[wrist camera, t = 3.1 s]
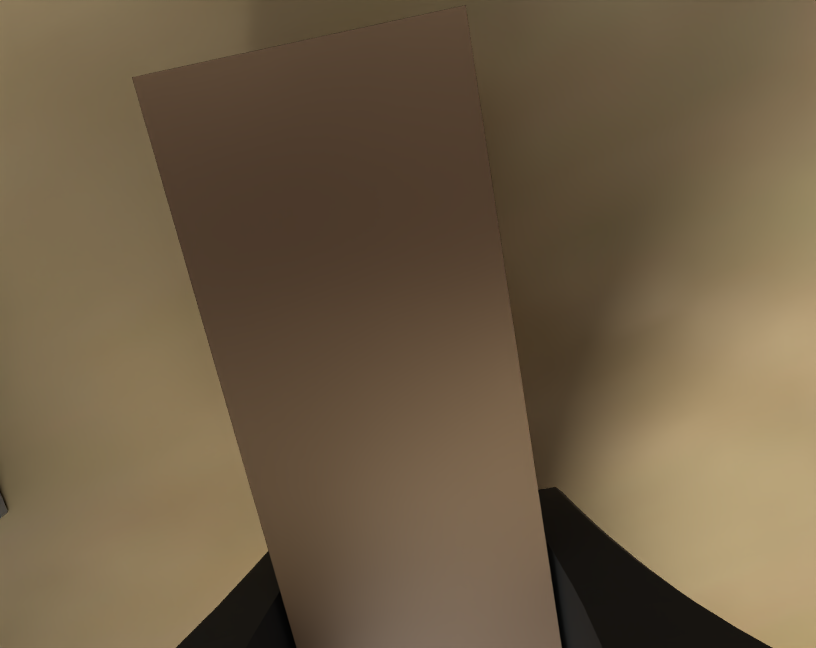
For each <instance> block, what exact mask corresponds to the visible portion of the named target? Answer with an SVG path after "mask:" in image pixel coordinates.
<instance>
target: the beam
mask: <svg viewBox="0 0 816 648" xmlns="http://www.w3.org/2000/svg"><path fill="white" fill-rule="evenodd" d="M132 79H133V82H134V86H135V89H136V93H137V96H138V100H139V103H140V107H141V110H142V114H143V117H144V120H145V124H146V127H147V131H148V134H149V138H150V141H151V145H152V148H153V152H154V155H155V159H156V162H157V166H158V169H159V172H160V176H161V179H162V183H163V186H164V190H165V193H166V197H167V200H168V204H169V207H170V211H171V214H172V218H173V221H174V225H175V228H176V231H177V235H178V238H179V242H180V245H181V249H182V252H183V256H184V259H185V263H186V266H187V270H188V273H189V277H190V280H191V283H192V287H193V290H194V294H195V297H196V301H197V304H198V308H199V311H200V315H201V318H202V322H203V325H204V329H205V332H206V335H207V339H208V342H209V346H210V349H211V353H212V356H213V360H214V363H215V367H216V370H217V374H218V377H219V381H220V384H221V387H222V391H223V394H224V398H225V401H226V405H227V408H228V412H229V415H230V419H231V422H232V426H233V429H234V433H235V436H236V440H237V443H238V446H239V450H240V453H241V457H242V460H243V464H244V467H245V471H246V474H247V478H248V481H249V485H250V488H251V492H252V495H253V498H254V502H255V505H256V509H257V512H258V516H259V519H260V523H261V526H262V530H263V533H264V537H265V540H266V544H267V547H268V550H269V554H270V557H271V561H272V564H273V568H274V571H275V575H276V578H277V582H278V585H279V589H280V592H281V596H282V599H283V603H284V606H285V609H286V613H287V616H288V620H289V623H290V627H291V630H292V634H293V637H294V641H295V644H296V648H562V646H561V640H560V633H559V626H558V620H557V613H556V606H555V600H554V593H553V586H552V580H551V573H550V566H549V560H548V553H547V546H546V539H545V533H544V526H543V519H542V513H541V506H540V499H539V493H538V486H537V479H536V473H535V466H534V459H533V453H532V446H531V439H530V433H529V426H528V419H527V413H526V406H525V399H524V392H523V386H522V379H521V372H520V366H519V359H518V352H517V346H516V339H515V332H514V326H513V319H512V312H511V306H510V299H509V292H508V286H507V279H506V272H505V266H504V259H503V252H502V245H501V239H500V232H499V225H498V219H497V212H496V205H495V199H494V192H493V185H492V179H491V172H490V165H489V159H488V152H487V145H486V139H485V132H484V125H483V119H482V112H481V105H480V99H479V92H478V85H477V78H476V72H475V65H474V58H473V52H472V45H471V38H470V32H469V25H468V18H467V12H466V5H464V6H460V7H455V8H450V9H446V10H441V11H437V12H432V13H427V14H423V15H418V16H413V17H409V18H404V19H400V20H395V21H390V22H386V23H381V24H376V25H372V26H367V27H363V28H358V29H353V30H349V31H344V32H339V33H335V34H330V35H326V36H321V37H316V38H312V39H307V40H303V41H298V42H293V43H289V44H284V45H279V46H275V47H270V48H266V49H261V50H256V51H252V52H247V53H242V54H238V55H233V56H229V57H224V58H219V59H215V60H210V61H205V62H201V63H196V64H192V65H187V66H182V67H178V68H173V69H168V70H164V71H159V72H155V73H150V74H145V75H141V76H136V77H132Z"/></svg>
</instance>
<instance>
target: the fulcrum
mask: <svg viewBox="0 0 816 648" xmlns="http://www.w3.org/2000/svg"><path fill="white" fill-rule="evenodd" d="M7 512H8V511H7V508H6V506H5V504H4V501H3V499H2V496H1V494H0V518H1V517H3V516H4V515H5V514H6V513H7Z"/></svg>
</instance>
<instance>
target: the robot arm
mask: <svg viewBox="0 0 816 648" xmlns="http://www.w3.org/2000/svg"><path fill="white" fill-rule="evenodd" d="M538 493H539V499H540V506H541V513H542V519H543V526H544V533H545V539H546V546H547V553H548V560H549V566H550V573H551V580H552V586H553V593H554V600H555V606H556V613H557V620H558V626H559V633H560V640H561V646H562V648H772V647H770V646H768V645H766V644H764V643H763V642H761V641H759V640H757V639H756V638H754V637H752V636H750V635H748V634H747V633H745V632H743V631H741V630H740V629H738V628H736V627H735V626H733V625H731V624H730V623H728V622H726V621H725V620H723V619H722V618H720V617H718V616H717V615H715V614H714V613H712V612H710V611H709V610H707V609H705V608H704V607H702V606H701V605H699V604H697V603H696V602H694V601H693V600H691V599H690V598H688V597H687V596H686V595H684V594H683V593H681V592H680V591H678V590H677V589H676V588H674V587H673V586H672V585H670V584H669V583H667V582H666V581H665V580H663V579H662V578H661V577H659V576H658V575H657V574H655V573H654V572H652V571H651V570H650V569H649V568H647V567H646V566H645V565H643V564H642V563H641V562H640V561H638V560H637V559H636V558H635V557H633V556H632V555H631V554H630V553H629V552H627V551H626V550H625V549H624V548H623V547H621V546H620V545H619V544H618V543H617V542H615V541H614V540H613V539H612V538H611V537H609V536H608V535H607V534H606V533H605V532H604V531H603V530H601V529H600V528H599V527H598V526H597V525H596V524H595V523H594V522H593V521H592V520H590V519H589V518H588V517H587V516H586V515H585V514H584V513H583V512H582V511H581V510H580V509H579V508H578V507H577V506H576V505H575V504H574V503H573V502H572V501H571V500H570V499H569V498H568V497H567V496H566V495H565V494H564V493H563V492H562V491H560V490H559V489H557V488H556V487H553V488H546V489H540V490H538ZM176 648H296V644H295V641H294V637H293V634H292V630H291V627H290V623H289V620H288V616H287V613H286V609H285V606H284V603H283V599H282V596H281V592H280V589H279V585H278V582H277V578H276V575H275V571H274V568H273V564H272V561H271V557H270V554H269V551H268V552H267V553H266V554H265V555H264V556H263V557H262V559H261V560H260V561H259V562H258V563H257V564H256V565H255V566H254V567H253V569H252V570H251V571H250V572H249V573H248V574H247V575H246V576H245V577H244V578H243V579H242V581H241V582H240V583H239V584H238V585H237V586H236V587H235V588H234V589H233V590H232V591H231V592H230V593H229V595H228V596H227V597H226V598H225V599H224V600H223V601H222V602H221V603H220V604H219V605H218V606H217V607H216V608H215V609H214V610H213V611H212V612H211V613H210V614H209V615H208V616H207V617H206V618H205V619H204V620H203V621H202V622H201V623H200V624H199V625H198V626H197V627H196V628H195V629H194V630H193V631H192V632H191V633H190V634H189V635H188V636H187V637H186V638H185V639H184V640H183V641H182V642H181V643H180V644H179V645H178V646H177V647H176Z"/></svg>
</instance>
